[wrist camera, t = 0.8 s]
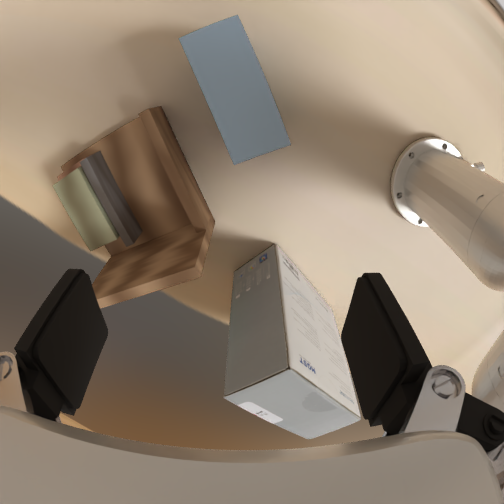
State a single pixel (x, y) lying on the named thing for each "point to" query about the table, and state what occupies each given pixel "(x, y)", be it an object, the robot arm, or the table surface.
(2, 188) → the table surface
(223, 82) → the book
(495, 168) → the table surface
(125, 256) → the shelf
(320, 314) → the hard drive box
